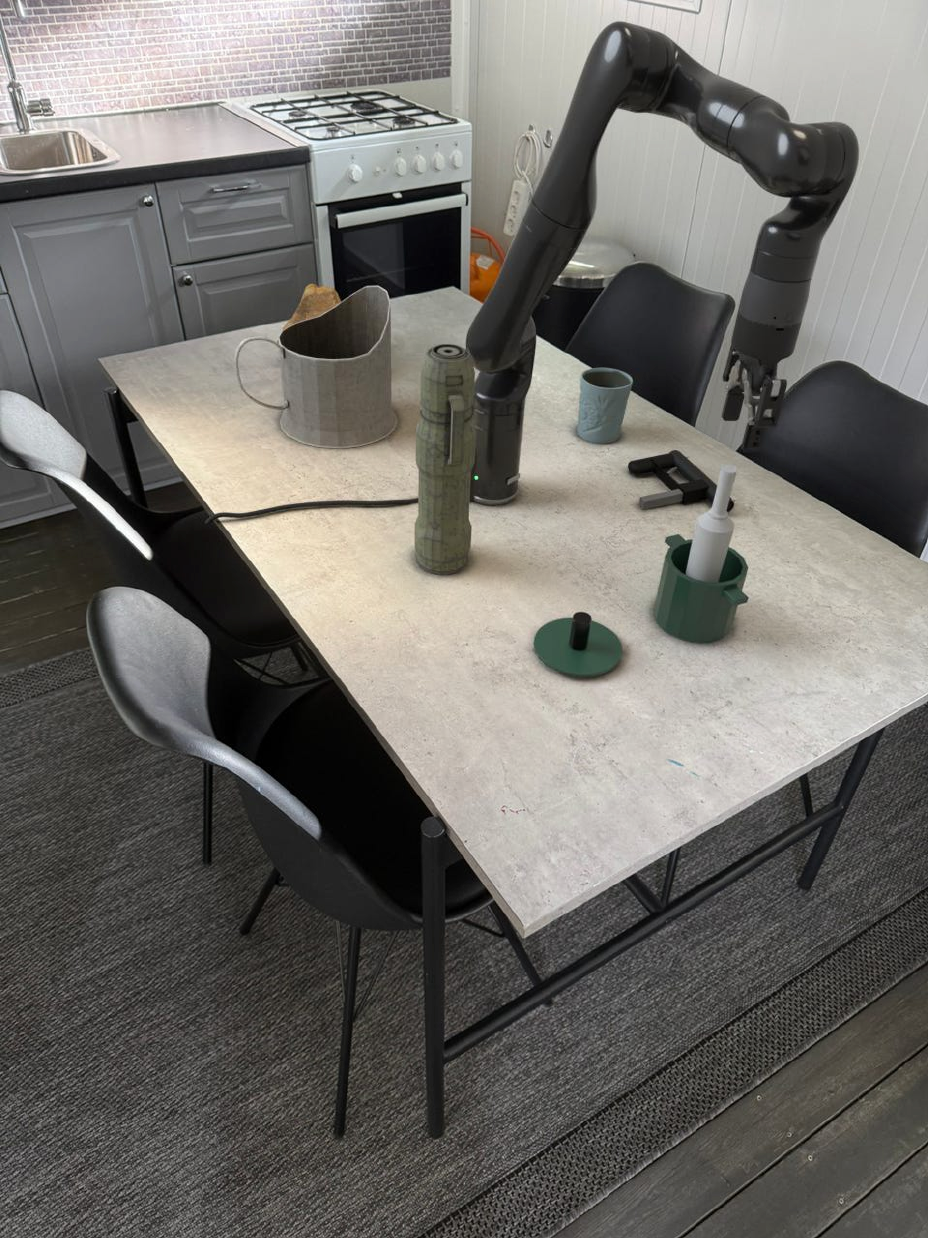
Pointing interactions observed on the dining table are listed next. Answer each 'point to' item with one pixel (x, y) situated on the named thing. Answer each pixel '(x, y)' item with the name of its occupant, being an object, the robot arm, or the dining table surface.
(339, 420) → the pitcher
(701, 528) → the bottle
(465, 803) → the dining table surface
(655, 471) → the black staple gun
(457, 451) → the thermos
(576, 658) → the lid
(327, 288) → the rough brown rock
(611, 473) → the dining table surface
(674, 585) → the pot
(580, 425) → the blue embossed cup
